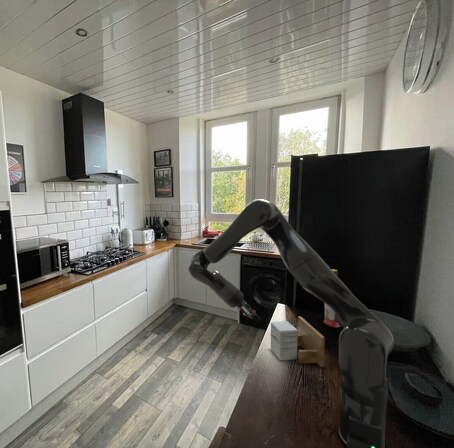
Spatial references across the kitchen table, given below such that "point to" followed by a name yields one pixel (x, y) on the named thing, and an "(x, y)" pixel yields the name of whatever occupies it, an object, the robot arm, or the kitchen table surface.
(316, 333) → the wooden stand
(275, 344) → the white packaging box
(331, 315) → the liquor
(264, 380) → the kitchen table surface
